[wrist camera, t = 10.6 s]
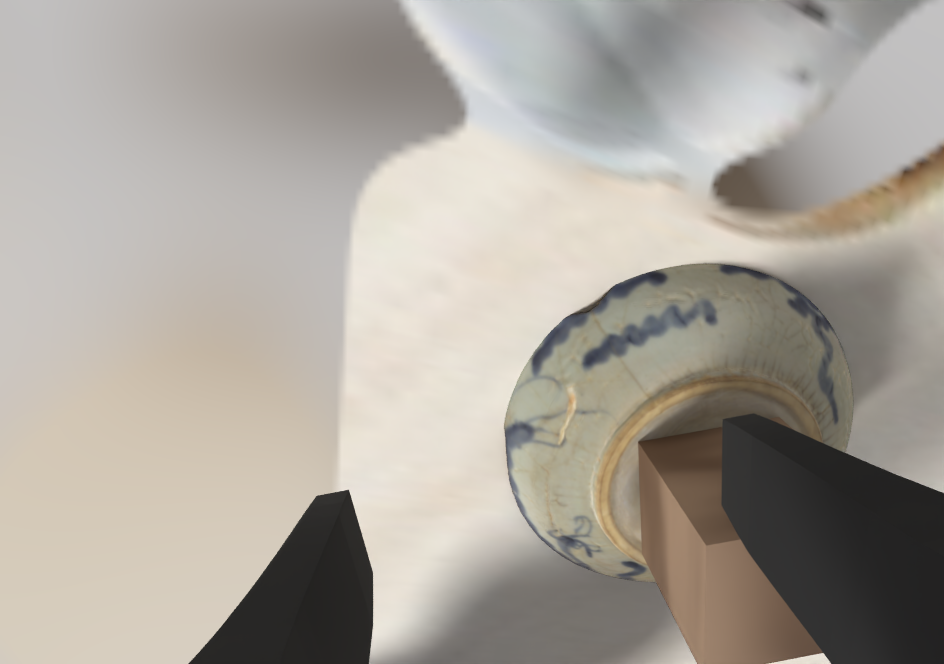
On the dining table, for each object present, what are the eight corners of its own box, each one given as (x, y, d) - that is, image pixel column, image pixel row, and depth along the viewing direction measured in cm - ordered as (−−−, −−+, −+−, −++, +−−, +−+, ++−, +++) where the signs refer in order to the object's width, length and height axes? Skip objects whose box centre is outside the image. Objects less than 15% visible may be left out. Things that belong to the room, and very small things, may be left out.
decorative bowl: (600, 188, 20) (433, 521, 25) (640, 205, 17) (438, 588, 21) (913, 335, 24) (719, 602, 28) (997, 374, 21) (763, 671, 25)
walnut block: (641, 553, 22) (703, 675, 17) (637, 441, 20) (706, 545, 15) (770, 529, 22) (865, 644, 18) (779, 416, 20) (888, 512, 16)
